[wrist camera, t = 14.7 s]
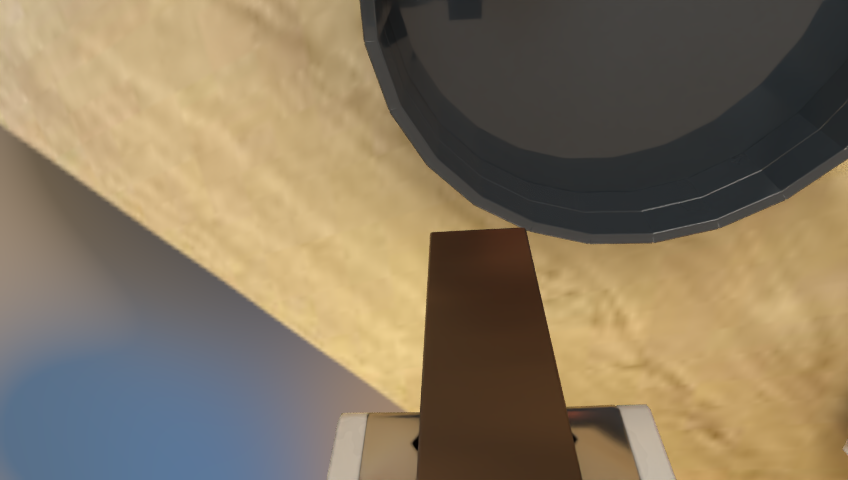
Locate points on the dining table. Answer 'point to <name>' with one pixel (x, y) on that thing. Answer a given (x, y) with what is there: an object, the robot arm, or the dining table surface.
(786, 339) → the dining table surface
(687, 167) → the bowl
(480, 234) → the stick
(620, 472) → the robot arm
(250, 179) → the dining table surface
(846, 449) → the die
